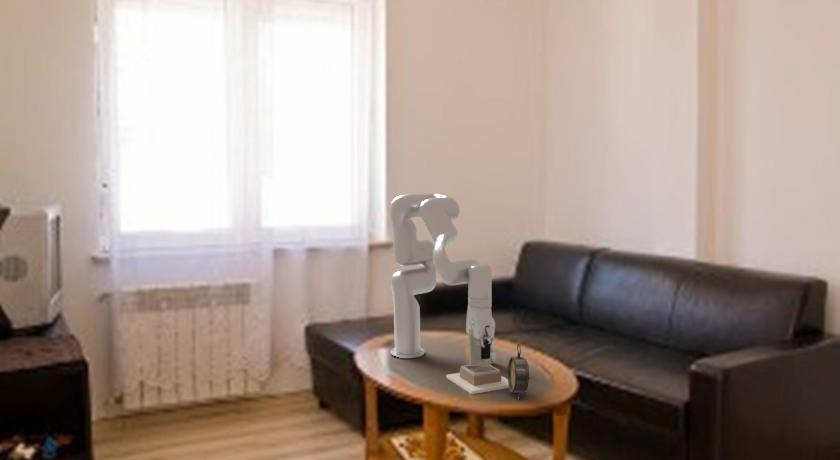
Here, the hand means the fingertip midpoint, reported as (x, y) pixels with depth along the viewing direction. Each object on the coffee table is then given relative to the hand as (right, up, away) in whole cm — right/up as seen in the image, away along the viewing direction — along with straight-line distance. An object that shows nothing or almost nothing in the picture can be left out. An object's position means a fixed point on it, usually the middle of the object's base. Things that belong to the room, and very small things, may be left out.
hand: (479, 355), depth 245 cm
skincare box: (0, -3, +1) cm, 3 cm away
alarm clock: (+11, -11, -11) cm, 19 cm away
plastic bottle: (+4, -7, +20) cm, 21 cm away
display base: (0, -9, +1) cm, 9 cm away
